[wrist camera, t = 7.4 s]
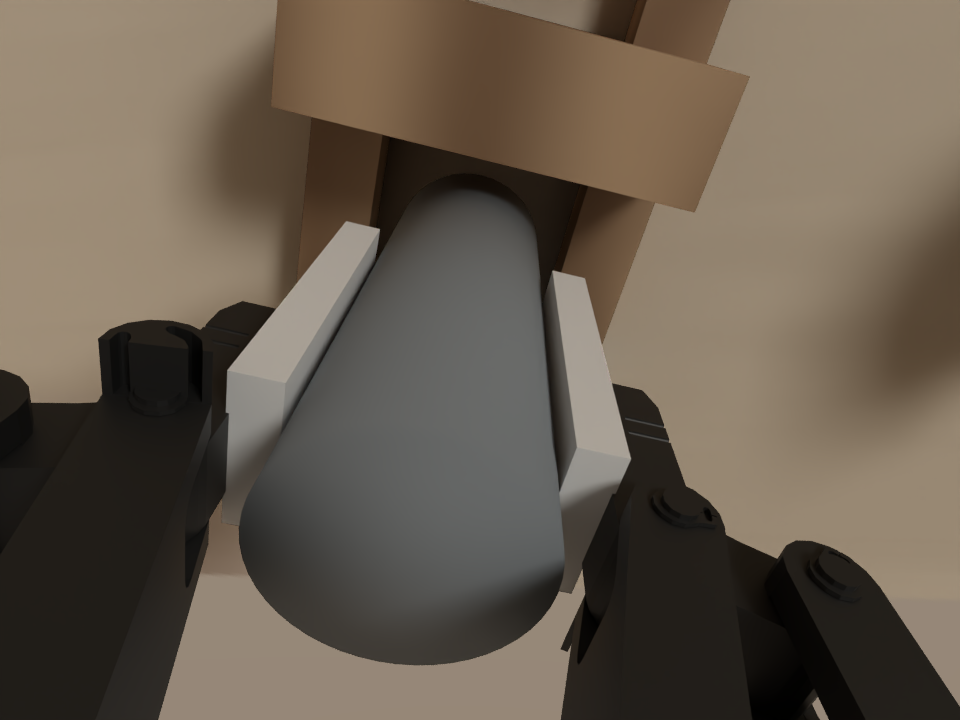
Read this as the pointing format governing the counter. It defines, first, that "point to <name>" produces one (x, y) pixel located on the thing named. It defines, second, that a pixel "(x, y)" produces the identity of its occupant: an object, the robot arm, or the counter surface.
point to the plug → (422, 449)
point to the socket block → (509, 111)
